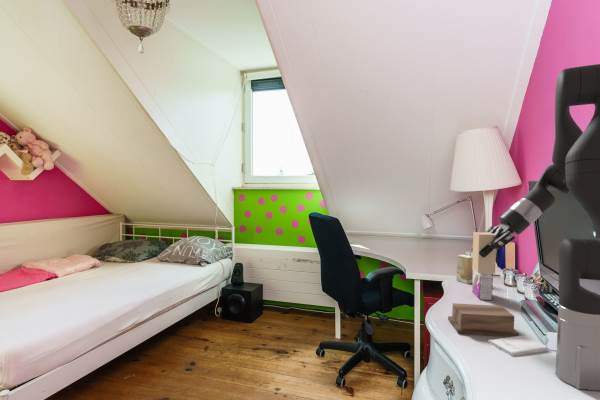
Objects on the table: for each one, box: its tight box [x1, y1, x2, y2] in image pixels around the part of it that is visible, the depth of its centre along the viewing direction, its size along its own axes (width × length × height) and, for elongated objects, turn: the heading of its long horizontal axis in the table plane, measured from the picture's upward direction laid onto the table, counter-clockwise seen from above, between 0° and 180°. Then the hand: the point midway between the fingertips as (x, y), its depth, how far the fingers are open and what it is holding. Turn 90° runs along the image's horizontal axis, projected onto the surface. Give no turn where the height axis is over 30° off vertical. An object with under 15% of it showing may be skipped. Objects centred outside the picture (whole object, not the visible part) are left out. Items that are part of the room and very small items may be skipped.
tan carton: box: [472, 231, 497, 275], centre depth 112 cm, size 5×5×12 cm
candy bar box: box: [471, 270, 494, 301], centre depth 145 cm, size 11×5×16 cm, turn 168°
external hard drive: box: [487, 334, 549, 357], centre depth 101 cm, size 2×8×12 cm
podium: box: [447, 302, 520, 338], centre depth 113 cm, size 11×17×6 cm, turn 82°
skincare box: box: [455, 254, 473, 285], centre depth 166 cm, size 6×4×12 cm
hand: (477, 253), depth 112 cm, fingers closed on tan carton, 5 cm apart
